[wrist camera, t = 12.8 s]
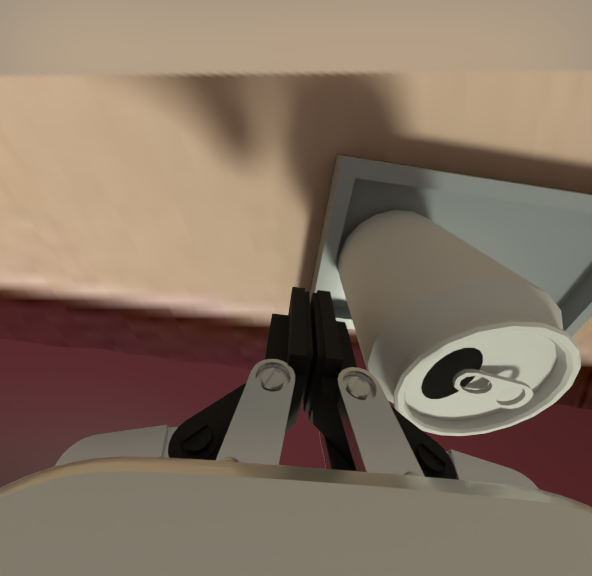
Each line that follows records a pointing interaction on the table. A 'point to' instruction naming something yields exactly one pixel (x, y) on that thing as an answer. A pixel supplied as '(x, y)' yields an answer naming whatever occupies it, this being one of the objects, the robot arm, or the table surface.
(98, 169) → the table surface
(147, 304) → the table surface
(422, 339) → the can
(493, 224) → the tray
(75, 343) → the table surface
